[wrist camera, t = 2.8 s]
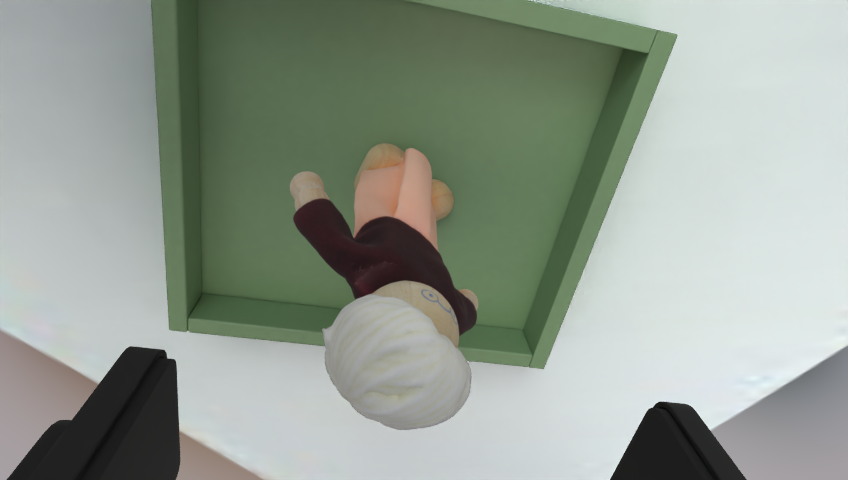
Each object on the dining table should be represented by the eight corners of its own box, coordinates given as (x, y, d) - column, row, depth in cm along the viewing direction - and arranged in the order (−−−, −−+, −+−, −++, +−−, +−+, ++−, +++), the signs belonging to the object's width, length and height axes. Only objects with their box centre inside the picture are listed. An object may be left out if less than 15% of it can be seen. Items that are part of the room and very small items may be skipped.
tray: (187, 299, 23) (168, 330, 21) (176, -77, 16) (144, -87, 14) (531, 338, 26) (544, 369, 24) (645, 29, 19) (678, 34, 17)
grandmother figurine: (491, 186, 21) (611, 407, 10) (445, 252, 23) (505, 512, 11) (333, 96, 19) (257, 252, 8) (292, 176, 20) (178, 407, 9)
